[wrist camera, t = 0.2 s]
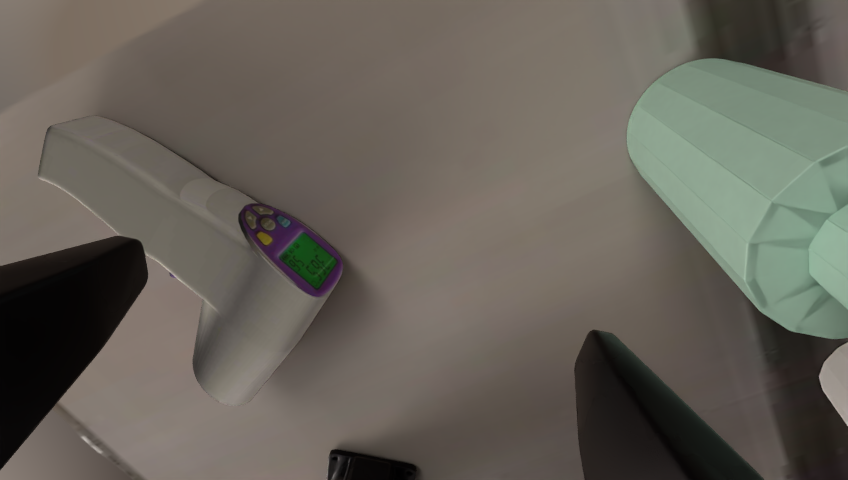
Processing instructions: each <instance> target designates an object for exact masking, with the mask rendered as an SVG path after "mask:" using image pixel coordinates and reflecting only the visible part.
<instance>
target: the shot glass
mask: <svg viewBox="0 0 848 480" xmlns="http://www.w3.org/2000/svg"><path fill="white" fill-rule="evenodd" d="M819 379H820V383H821V387H822V390H823V391H824V393H825V394H826V396H827V397H828V399H829V400H830V401H831V403H832V404H833V406H834V407H835V409H836V410H837V412H838V413H839V414H840V416H841V417H842V419H843V420H844V422H845V423H846V424H847V426H848V342H847V343H846V344H844V345H842V346H840V347H838V348H837V349H836V350H835V351H834V352H833V353H832V354H831V355H830V356H829V357H828V359H827V360H826V361H825V362H824V363H823V366H822V369H821V372H820V375H819Z"/></svg>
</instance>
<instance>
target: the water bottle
mask: <svg viewBox="0 0 848 480" xmlns="http://www.w3.org/2000/svg"><path fill="white" fill-rule="evenodd" d="M627 148H628V152H629V155H630V158H631V160H632V162H633V164H634V165H635V167H636V168H637V169H638V171H639V173H640V174H641V176H642V177H643V178H644V179H645V180H646V181H647V183H648V184H649V185H650V186H651V187H652V188H653V189H654V191H655V192H656V193H657V194H658V195H659V196H660V197H661V199H662V200H663V201H664V202H665V203H666V204H667V206H668V207H669V208H670V209H671V210H672V211H673V212H674V214H675V215H676V216H677V217H678V218H679V219H680V220H681V222H682V223H683V224H684V225H685V226H686V227H687V228H688V230H689V231H690V232H691V233H692V234H693V235H694V236H695V238H696V239H697V240H698V241H699V242H700V243H701V244H702V246H703V247H704V248H705V249H706V250H707V251H708V253H709V254H710V255H711V256H712V257H713V258H714V259H715V261H716V262H717V263H718V264H719V265H720V266H721V267H722V269H723V270H724V271H725V272H726V273H727V274H728V275H729V277H730V278H731V279H732V280H733V281H734V282H735V283H736V285H737V286H738V287H739V288H740V289H741V290H742V291H743V293H744V294H745V295H746V296H747V297H748V298H749V300H750V301H751V302H752V303H753V304H754V305H755V306H756V308H757V309H758V310H759V311H760V312H762V313H763V314H765V315H766V316H768V317H769V318H771V319H772V320H774V321H775V322H777V323H779V324H780V325H782V326H783V327H785V328H786V329H788V330H789V331H792V332H797V333H803V334H808V335H813V336H819V337H824V338H829V339H841V338H848V91H844V90H840V89H837V88H833V87H829V86H826V85H822V84H818V83H815V82H811V81H807V80H804V79H800V78H796V77H793V76H789V75H785V74H781V73H778V72H774V71H770V70H767V69H763V68H759V67H756V66H752V65H748V64H745V63H740V62H734V61H729V60H725V59H717V58H712V59H701V60H695V61H692V62H688V63H685V64H683V65H680V66H678V67H676V68H674V69H672V70H670V71H669V72H667V73H665V74H664V75H663V76H661V77H660V78H659V79H657V80H656V81H655V82H654V83H653V84H652V85H651V86H650V87H649V88H648V89H647V90H646V91H645V92H644V94H643V95H642V96H641V98H640V99H639V100H638V102H637V104H636V106H635V107H634V109H633V112H632V114H631V116H630V120H629V123H628V128H627Z"/></svg>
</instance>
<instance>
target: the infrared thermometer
mask: <svg viewBox="0 0 848 480" xmlns="http://www.w3.org/2000/svg"><path fill="white" fill-rule="evenodd" d="M38 177H39V178H40V179H42V180H44V181H47V182H49V183H51V184H53V185H55V186H57V187H59V188H61V189H62V190H64V191H65V192H67V193H68V194H70V195H71V196H73V197H74V198H76V199H77V200H78V201H79V202H81V203H82V204H83V205H84V206H85V207H87V208H88V209H89V210H90V211H91V212H93V213H94V214H95V215H96V216H97V217H98V218H100V219H101V220H102V221H103V222H104V223H105V224H107V225H108V226H109V227H110V228H111V229H112V230H114V231H115V232H116V233H117V234H118V235H119V236H124V237H129V238H134V239H138V240H139V241H141V243H142V244H143V247H144V252H145V254H146V255H147V256H149V257H151V258H152V259H154V260H156V261H157V262H159V263H160V264H161V265H162V266H163V267H164V268H166V269H167V270H168V271H169V272H170V276H171V277H173V278H177V279H178V280H180V281H181V282H182V283H183V284H184V285H186V286H187V287H188V288H190V289H191V290H192V291H193V292H195V293H196V294H197V295H198V296H200V297H201V298H202V299H203V301H202V307H201V313H200V319H199V325H198V331H197V337H196V343H195V349H194V355H193V370H194V374H195V376H196V379H197V381H198V383H199V384H200V386H201V387H202V388H203V390H204V391H205V392H206V393H207V394H208V395H209V396H211V397H212V398H213V399H215V400H216V401H218V402H220V403H223V404H226V405H230V406H240V405H244V404H246V403H248V402H249V401H250V400H251V399H252V398H253V397H254V396H255V395H256V393H257V392H258V391H259V390H260V388H261V387H262V386H263V385H264V384H265V382H266V381H267V380H268V379H269V377H270V376H271V375H272V374H273V373H274V371H275V370H276V369H277V368H278V366H279V365H280V364H281V363H282V362H283V360H284V359H285V358H286V357H287V355H288V354H289V353H290V352H291V351H292V349H293V348H294V347H295V346H296V344H297V343H298V342H299V341H300V339H301V338H302V336H303V335H304V333H305V332H306V330H307V329H308V327H309V326H310V324H311V323H312V321H313V320H314V318H315V317H316V315H317V314H318V312H319V310H320V309H321V307H322V306H323V304H324V303H325V301H326V300H327V298H328V297H329V295H330V294H331V292H332V291H333V289H334V288H335V286H336V284H337V283H338V281H339V279H340V277H341V275H342V271H343V263H342V260H341V258H340V256H339V255H338V253H337V252H336V251H335V250H334V249H333V248H332V247H331V246H330V245H329V244H328V243H327V242H326V241H324V240H323V239H322V238H321V237H320V236H319V235H317V234H316V233H315V232H314V231H312V230H311V229H310V228H308V227H307V226H305V225H304V224H303V223H301V222H300V221H298V220H296V219H295V218H293V217H291V216H290V215H288V214H286V213H284V212H282V211H280V210H278V209H276V208H273V207H271V206H268V205H264V204H260V203H258V202H256V201H254V200H253V199H251V198H250V197H248V196H246V195H245V194H243V193H242V192H240V191H238V190H236V189H234V188H232V187H229V186H227V185H224V184H222V183H220V182H217V181H215V180H213V179H212V178H210V177H209V176H208V175H206V174H205V173H204V172H202V171H201V170H200V169H198V168H197V167H195V166H193V165H192V164H190V163H189V162H187V161H186V160H184V159H183V158H181V157H180V156H178V155H176V154H175V153H173V152H172V151H170V150H169V149H167V148H165V147H164V146H162V145H161V144H159V143H158V142H156V141H154V140H152V139H150V138H148V137H147V136H145V135H143V134H141V133H139V132H137V131H135V130H134V129H132V128H129V127H127V126H125V125H122V124H120V123H118V122H115V121H113V120H109V119H106V118H103V117H99V116H88V117H84V118H79V119H75V120H71V121H67V122H63V123H59V124H55V125H52V126H50V127H49V128H48V129H47V132H46V136H45V140H44V145H43V150H42V155H41V160H40V166H39V172H38Z"/></svg>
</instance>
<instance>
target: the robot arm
mask: <svg viewBox="0 0 848 480" xmlns="http://www.w3.org/2000/svg"><path fill="white" fill-rule="evenodd" d="M147 279H148V270H147V264H146V258H145V252H144V247H143V244H142V243H141V241H139V240H138V239H134V238H129V237H124V236H114V237H110V238H107V239H103V240H99V241H95V242H91V243H87V244H84V245H80V246H76V247H72V248H68V249H64V250H60V251H57V252H53V253H49V254H45V255H41V256H37V257H34V258H30V259H26V260H22V261H18V262H14V263H11V264H7V265H3V266H0V470H1V469H2V468H3V466H4V465H5V464H6V463H7V462H8V461H9V459H10V458H11V457H12V456H13V455H14V453H15V452H16V451H17V450H18V449H19V447H20V446H21V445H22V444H23V443H24V441H25V440H26V439H27V438H28V437H29V435H30V434H31V433H32V432H33V431H34V430H35V428H36V427H37V426H38V425H39V423H40V422H41V421H42V420H43V419H44V417H45V416H46V415H47V414H48V413H49V412H50V410H51V409H52V408H53V407H54V406H55V404H56V403H57V402H58V401H59V400H60V399H61V397H62V396H63V395H64V394H65V393H66V391H67V390H68V389H69V388H70V387H71V385H72V384H73V383H74V382H75V381H76V379H77V378H78V377H79V376H80V375H81V373H82V372H83V371H84V370H85V369H86V367H87V366H88V365H89V364H90V363H91V362H92V360H93V359H94V358H95V357H96V355H97V354H98V353H99V352H100V350H101V349H102V348H103V347H104V345H105V344H106V342H107V341H108V340H109V338H110V337H111V335H112V334H113V332H114V331H115V330H116V328H117V327H118V325H119V324H120V322H121V321H122V319H123V318H124V316H125V315H126V313H127V312H128V310H129V309H130V307H131V306H132V304H133V303H134V301H135V300H136V298H137V297H138V295H139V294H140V293H141V291H142V290H143V288H144V286H145V285H146V282H147ZM574 373H575V391H576V408H577V426H578V440H579V448H580V455H581V461H582V467H583V472H584V478H585V480H764V479H763V477H762V476H761V475H760V474H758V473H757V472H756V471H755V470H754V469H753V468H752V467H751V466H750V465H749V464H748V463H747V462H746V461H745V460H744V459H743V458H742V457H741V456H740V455H739V454H738V453H737V452H736V451H735V450H734V449H732V448H731V447H730V446H729V445H728V444H727V443H726V442H725V441H724V440H723V439H722V438H721V437H720V436H719V435H718V434H717V433H716V432H715V431H714V430H713V429H712V428H711V427H710V426H709V425H708V424H706V423H705V422H704V421H703V420H702V419H701V418H700V417H699V416H698V415H697V414H696V413H695V412H694V411H693V410H692V409H691V408H690V407H689V406H688V405H687V404H686V403H685V402H684V401H683V400H682V399H680V398H679V397H678V396H677V395H676V394H675V393H674V392H673V391H672V390H671V389H670V388H669V387H668V386H667V385H666V384H665V383H664V382H663V381H662V380H661V379H660V378H659V377H658V376H657V375H656V374H654V373H653V372H652V371H651V370H650V369H649V368H648V367H647V366H646V365H645V364H644V363H643V362H642V361H641V360H640V359H639V358H638V357H637V356H636V355H635V354H634V353H633V352H632V351H631V350H630V349H628V348H627V347H626V346H625V345H624V344H623V343H622V342H621V341H620V340H619V339H618V338H617V337H616V336H615V335H614V334H612V333H609V332H604V331H599V330H592V331H590V332H589V333H588V335H587V337H586V339H585V341H584V343H583V346H582V348H581V350H580V352H579V355H578V357H577V359H576V362H575V370H574ZM415 476H416V467H415V466H414V465H412V464H407V463H402V462H397V461H392V460H387V459H382V458H377V457H372V456H367V455H362V454H357V453H352V452H347V451H342V450H336V449H334V450H332V451H331V452H330V454H329V457H328V470H327V480H415Z"/></svg>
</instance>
